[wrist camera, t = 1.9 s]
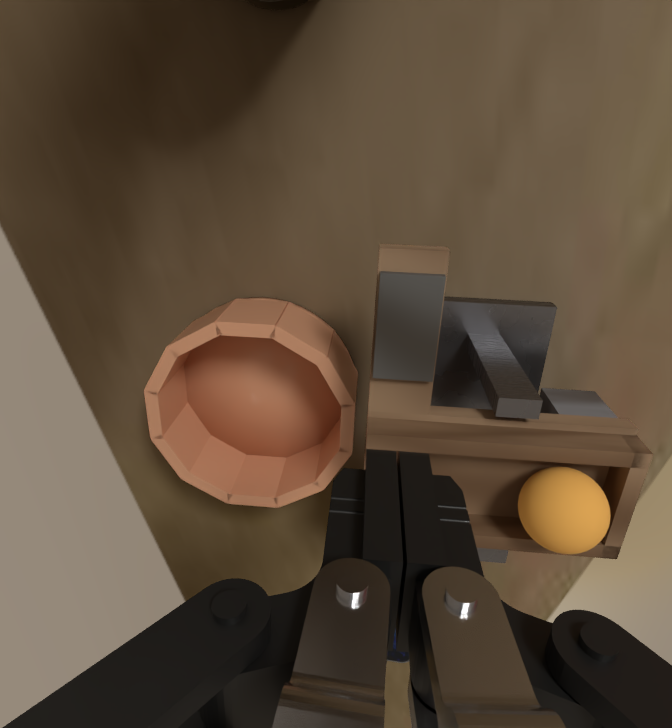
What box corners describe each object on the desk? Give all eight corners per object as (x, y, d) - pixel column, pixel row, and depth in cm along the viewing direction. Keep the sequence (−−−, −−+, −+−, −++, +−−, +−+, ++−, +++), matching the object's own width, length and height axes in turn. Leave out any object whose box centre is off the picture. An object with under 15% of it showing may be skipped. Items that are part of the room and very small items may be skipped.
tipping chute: (379, 229, 26) (379, 255, 20) (636, 242, 25) (717, 272, 19) (362, 468, 32) (359, 543, 26) (569, 483, 31) (615, 564, 25)
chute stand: (421, 295, 31) (438, 354, 22) (551, 302, 31) (621, 365, 22) (401, 478, 37) (409, 582, 28) (511, 486, 36) (553, 594, 28)
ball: (516, 447, 25) (540, 499, 21) (598, 453, 25) (637, 507, 21) (502, 511, 26) (522, 569, 23) (580, 517, 26) (612, 577, 23)
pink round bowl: (168, 291, 32) (133, 316, 28) (362, 302, 32) (359, 329, 27) (185, 454, 38) (158, 498, 33) (352, 466, 37) (348, 513, 32)
